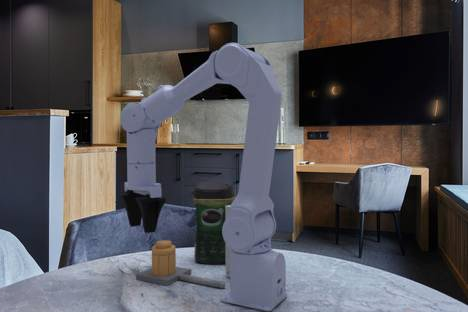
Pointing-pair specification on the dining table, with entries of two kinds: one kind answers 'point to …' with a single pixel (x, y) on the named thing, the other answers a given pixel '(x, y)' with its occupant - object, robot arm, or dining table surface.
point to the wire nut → (163, 258)
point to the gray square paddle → (177, 278)
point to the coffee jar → (211, 220)
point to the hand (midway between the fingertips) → (142, 229)
